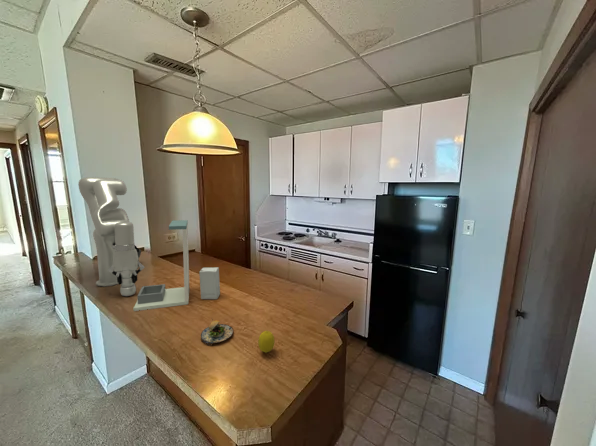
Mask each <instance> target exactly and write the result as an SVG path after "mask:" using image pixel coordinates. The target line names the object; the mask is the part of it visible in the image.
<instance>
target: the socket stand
mask: <svg viewBox="0 0 596 446" xmlns="http://www.w3.org/2000/svg"><path fill="white" fill-rule="evenodd" d="M188 223H189V222H188V220H187V219H185V220H183V219H181V220H180V219H179V220H171V222H170V223H169V225H168V230H170V231H171V230H173V231H174V230H182V253H183V286H182V287H171V288H166V284H165V283H164V284H162V283H161V284H155V285H154V284H153V285H152V284H151V285H143V286H142V287H141V288H140V290H139V292H138V294H137V295H136V296H137V297H136V299H137V300H136V303H135V305H134V306H133V308H132V309H133V312H139V310H140V311H148V310H154V309H160V308H161V309H163V308H170V307H176V306H184V305H189V301H190V298H189V297H190V265H189V262H190V260H189V259H190V258H189V256H190V255H189V225H188ZM147 309H148V310H147Z"/></svg>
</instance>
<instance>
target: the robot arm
mask: <svg viewBox="0 0 596 446" xmlns="http://www.w3.org/2000/svg"><path fill="white" fill-rule="evenodd" d="M78 190H79V193H80V196H82V198H83V200H84V201H85V203H86V204H87V206H88V209H89V213H90V217H91V219H92V223H93V226H94V228H95V229H94V230H93V232H92V233H93V234H92V235H93V236H92V237H93V240H94V243H95V248H96V256H97V257H96V259H97V267H98V280H96V281H95V285H96V286H97V287H113V286H116V285H120V286H121V276H120V272H122V271H123V270H122V268H123V267H126V266H127V267H128V268H129V270H128V271H133V274H134V275H133V283H135V284H136V282H137V281H138V274H139V273H140V272H141V271H142V270H144V269H145V266H144V265H143V264H142V263H141V262H140V261H139V259H140V258H139V259H138V254H137V250H136V249H135V246H136V245H135V232H134V230H135V229H134V224H133V222H130V219H129V216H128V214H127V211H126V210H125V209H124V208H121V207H119V206H120V200H119V198H118V196H125V195H126V193H127V190H128V189H127V185H126V183H125V182H124V181H123V180H122V179H119V178H116V177H115V178H114V177H98V176H95V177H94V176H87V177H83V178H80V179H79V181H78ZM113 243H115V244H116V245H113Z"/></svg>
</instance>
